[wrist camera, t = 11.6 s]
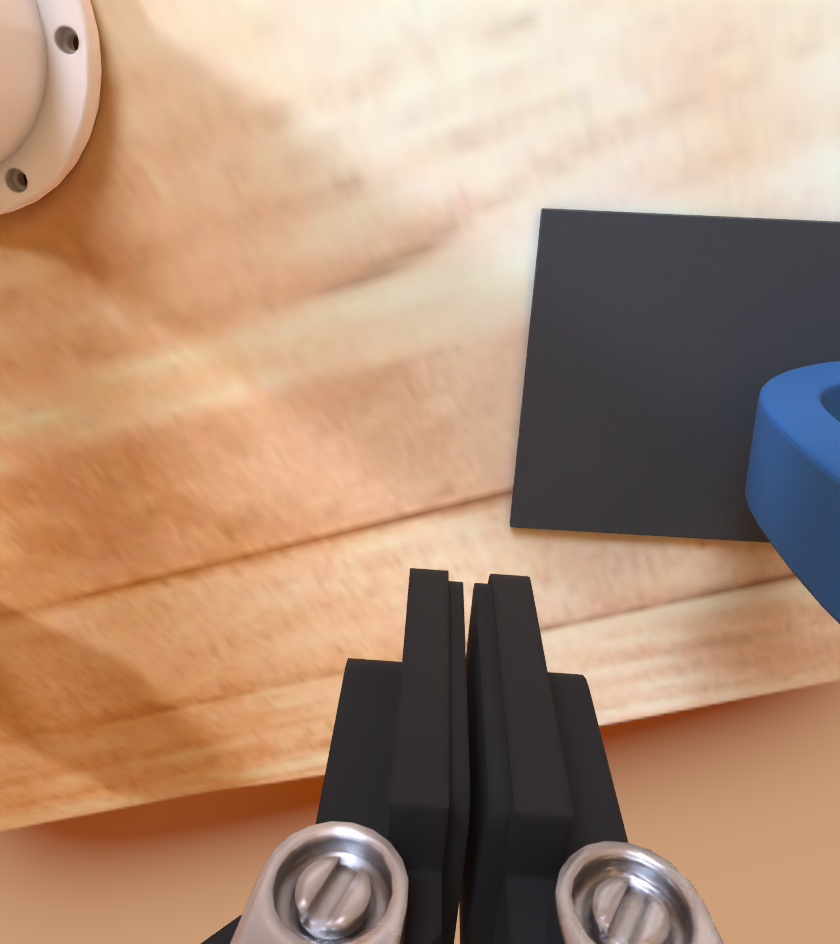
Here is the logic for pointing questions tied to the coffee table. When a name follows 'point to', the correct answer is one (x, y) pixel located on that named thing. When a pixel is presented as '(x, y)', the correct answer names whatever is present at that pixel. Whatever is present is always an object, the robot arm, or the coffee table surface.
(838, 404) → the handheld scanner
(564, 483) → the mat
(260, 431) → the coffee table surface
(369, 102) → the coffee table surface
